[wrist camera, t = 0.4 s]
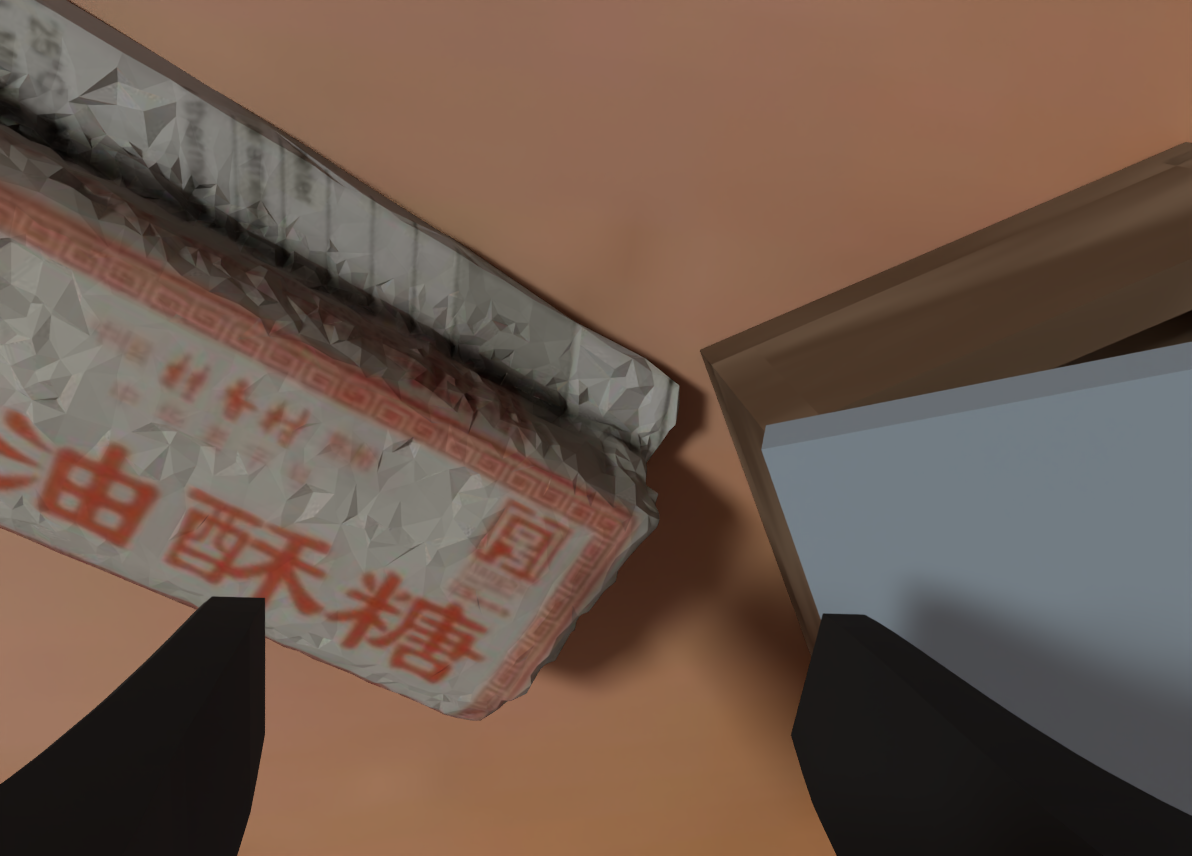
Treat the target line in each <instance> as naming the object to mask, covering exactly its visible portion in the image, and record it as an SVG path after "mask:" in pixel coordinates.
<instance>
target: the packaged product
mask: <svg viewBox="0 0 1192 856" xmlns="http://www.w3.org/2000/svg"><path fill="white" fill-rule="evenodd" d="M678 410H679V385H678V384H677V383H675V382H674V381H673V380H672V379H670V378H669V377H668V376H667V375H665V374H664V373H663V372H662V371H660V370H659V369H658V368H657V367H655V366H654V365H653V364H652V363H650V362H649V361H648V360H647V359H645V358H644V357H642V356H640V355H638V354H636V353H634V352H632V351H630V350H628V349H627V348H625V347H623V346H621V345H619V344H617V343H615V342H613V341H611V340H609V339H607V338H605V337H603V336H601V335H600V334H598V333H596V332H594V331H592V330H590V329H588V328H586V327H584V326H582V325H580V324H578V323H576V322H575V321H573V320H572V319H570V318H569V317H567V316H566V315H564V314H563V313H561V312H560V311H558V310H557V309H555V308H554V307H553V306H551V305H550V304H548V303H547V302H545V301H544V300H542V299H541V298H539V297H538V296H536V295H535V294H533V293H532V292H530V291H529V290H528V289H526V288H525V287H523V286H522V285H520V284H519V283H517V282H516V281H514V280H513V279H511V278H510V277H508V276H507V275H506V274H504V273H503V272H501V271H500V270H498V269H497V268H495V267H494V266H492V265H491V264H489V263H488V262H486V261H485V260H484V259H482V258H481V257H479V256H478V255H476V254H475V253H473V252H472V251H470V250H469V249H467V248H466V247H464V246H463V245H461V244H460V243H458V242H457V241H455V240H454V239H452V238H451V237H449V236H447V235H445V234H443V233H441V232H440V231H438V230H436V229H435V228H433V227H432V226H430V225H429V224H427V223H425V222H424V221H422V220H421V219H419V218H417V217H416V216H414V215H413V214H411V213H410V212H408V211H406V210H405V209H403V208H402V207H400V206H399V205H397V204H395V203H394V202H392V201H391V200H389V199H388V198H386V197H384V196H383V195H381V194H380V193H378V192H377V191H375V190H373V189H372V188H370V187H369V186H367V185H365V184H364V183H362V182H361V181H359V180H358V179H356V178H354V177H353V176H351V175H350V174H348V173H347V172H345V171H344V170H342V169H341V168H339V167H337V166H336V165H334V164H333V163H331V162H330V161H328V160H327V159H325V158H324V157H322V156H321V155H319V154H318V153H316V152H315V151H313V150H312V149H310V148H308V147H307V146H305V145H304V144H302V143H300V142H299V141H297V140H295V139H294V138H292V137H291V136H289V135H287V134H286V133H284V132H283V131H281V130H279V129H278V128H276V127H274V126H273V125H271V124H270V123H268V122H266V121H265V120H263V119H261V118H260V117H258V116H257V115H255V114H253V113H252V112H250V111H248V110H247V109H245V108H244V107H242V106H240V105H239V104H237V103H235V102H234V101H232V100H231V99H229V98H227V97H226V96H224V95H223V94H221V93H219V92H217V91H215V90H214V89H212V88H210V87H208V86H207V85H205V84H204V83H202V82H200V81H199V80H197V79H196V78H194V77H192V76H191V75H189V74H188V73H186V72H185V71H183V70H181V69H180V68H178V67H177V66H175V65H173V64H172V63H170V62H169V61H167V60H165V59H164V58H162V57H160V56H159V55H157V54H155V53H154V52H152V51H150V50H149V49H147V48H145V47H144V46H142V45H140V44H139V43H137V42H135V41H134V40H132V39H130V38H129V37H127V36H125V35H124V34H122V33H120V32H119V31H117V30H115V29H114V28H112V27H110V26H109V25H107V24H105V23H104V22H102V21H100V20H99V19H97V18H95V17H94V16H92V15H90V14H89V13H87V12H85V11H84V10H82V9H80V8H79V7H77V6H75V5H74V4H72V3H70V2H69V1H67V0H0V528H2V529H4V530H7V531H10V532H12V533H15V534H17V535H19V536H22V537H24V538H26V539H29V540H31V541H33V542H36V543H38V544H40V545H42V546H45V547H47V548H49V549H51V550H54V551H56V552H58V553H61V554H63V555H66V556H68V557H71V558H73V559H76V560H78V561H81V562H83V563H86V564H88V565H91V566H93V567H96V568H98V569H101V570H103V571H105V572H108V573H110V574H112V575H115V576H117V577H119V578H122V579H124V580H127V581H129V582H131V583H134V584H136V585H139V586H141V587H143V588H146V589H148V590H151V591H153V592H156V593H158V594H160V595H163V596H165V597H167V598H170V599H172V600H175V601H177V602H179V603H182V604H184V605H187V606H189V607H192V608H194V609H198V608H199V607H200V606H201V605H202V604H203V603H204V602H206V601H207V600H208V599H209V598H211V597H212V596H219V597H255V598H265V638H267V639H270V640H272V641H274V642H276V643H278V644H280V645H281V646H283V647H286V648H290V649H293V650H296V651H300V652H301V653H303V654H305V655H307V656H309V657H311V658H312V659H315V660H317V661H320V662H323V663H325V664H328V665H331V666H333V667H336V668H338V669H341V670H343V671H346V672H348V673H351V674H353V675H355V676H357V677H359V678H361V679H363V680H365V681H366V682H368V683H371V684H374V685H376V686H379V687H382V688H384V689H387V690H390V691H392V692H396V693H398V694H400V695H402V696H404V697H407V698H409V699H412V700H414V701H416V702H419V703H421V704H423V705H425V706H428V707H430V708H432V709H434V710H436V711H438V712H440V713H442V714H445V715H449V716H453V717H456V718H462V719H467V720H482V719H483V718H485V717H487V716H488V715H490V714H491V713H493V712H495V711H496V710H498V709H499V708H500V707H501V706H502V705H503V704H505V703H506V702H507V701H512V700H514V699H516V698H518V697H520V696H522V695H524V694H526V693H527V691H528V690H529V688H530V686H531V684H532V683H533V681H534V679H535V677H536V676H537V674H538V672H539V671H540V669H541V668H542V667H543V666H544V665H545V664H547V663H550V662H552V661H555V660H556V658H557V656H558V654H559V653H560V651H561V649H562V647H563V646H564V644H565V642H566V640H567V639H568V637H569V635H570V633H571V632H572V631H574V630H575V625H576V621H577V620H578V618H579V616H580V615H582V614H584V613H586V612H589V611H590V609H591V608H592V607H593V605H594V604H595V603H596V601H597V600H598V599H599V598H600V596H601V595H602V594H603V592H604V591H605V590H606V589H607V588H608V587H610V586H611V585H612V584H613V583H614V582H616V578H617V573H618V570H619V569H620V567H621V566H622V565H623V564H624V562H625V561H626V560H627V559H628V557H629V556H630V555H631V554H632V553H633V552H634V551H635V549H636V548H637V547H638V546H639V545H640V544H641V543H642V542H643V541H644V540H645V539H646V538H647V537H648V536H649V535H650V534H651V533H652V532H653V531H654V530H655V529H656V528H657V525H658V523H659V512H658V510H657V508H656V506H655V503H656V500H657V496H658V493H657V492H655V491H654V490H652V489H651V488H650V487H648V486H647V485H646V472H647V466H646V463H647V461H648V460H649V459H650V457H651V456H652V454H653V453H654V452H655V450H656V449H657V448H658V446H659V445H660V443H661V442H662V441H663V439H664V438H665V436H666V435H667V433H668V432H669V430H670V429H672V428H673V427H674V426H675V425H676V420H677V415H678Z"/></svg>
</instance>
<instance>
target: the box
mask: <svg viewBox="0 0 1192 856" xmlns="http://www.w3.org/2000/svg"><path fill="white" fill-rule="evenodd" d="M1187 342H1192V143H1189V142H1185V143H1183V144H1180V145H1178V146H1176V147H1173V148H1171V149H1169V150H1166V151H1164V152H1162V153H1159V154H1157V155H1155V156H1152V157H1150V158H1148V159H1145V160H1143V161H1141V162H1138V163H1136V164H1134V165H1131V166H1129V167H1127V168H1124V169H1122V170H1120V171H1117V172H1115V173H1113V174H1110V175H1108V176H1106V177H1103V178H1101V179H1099V180H1096V181H1094V182H1092V183H1089V184H1087V185H1085V186H1082V187H1080V188H1078V189H1075V190H1073V191H1071V192H1068V193H1066V194H1064V195H1061V196H1059V197H1057V198H1054V199H1052V200H1050V201H1047V202H1045V203H1042V204H1040V205H1038V206H1035V207H1033V208H1031V209H1028V210H1026V211H1024V212H1021V213H1019V214H1017V215H1014V216H1012V217H1010V218H1007V219H1005V220H1003V221H1000V222H998V223H996V224H993V225H991V226H989V227H986V228H984V229H982V230H979V231H977V232H975V233H972V234H970V235H968V236H965V237H963V238H961V239H958V240H956V241H954V242H951V243H949V244H947V245H944V246H942V247H940V248H937V249H935V250H933V251H930V252H928V253H926V254H923V255H921V256H919V257H916V258H914V259H912V260H909V261H907V262H905V263H902V264H900V265H898V266H895V267H893V268H891V269H888V270H886V271H884V272H881V273H879V274H877V275H874V276H872V277H870V278H867V279H865V280H863V281H860V282H858V283H855V284H853V285H851V286H848V287H846V288H844V289H841V290H839V291H837V292H834V293H832V294H830V295H827V296H825V297H823V298H820V299H818V300H816V301H813V302H811V303H809V304H806V305H804V306H802V307H799V308H797V309H795V310H792V311H790V312H788V313H785V314H783V315H781V316H778V317H776V318H774V319H771V320H769V321H767V322H764V323H762V324H760V325H757V326H755V327H753V328H750V329H748V330H746V331H743V332H741V333H739V334H736V335H734V336H732V337H729V338H727V339H725V340H722V341H720V342H718V343H715V344H713V345H711V346H708V347H706V348H704V349H701V350H700V352H701V355H702V358H703V360H704V363H705V366H706V369H707V371H708V374H709V377H710V380H711V382H712V385H713V388H714V391H715V393H716V396H717V399H718V402H719V404H720V407H721V410H722V413H723V415H724V418H725V421H726V424H727V426H728V429H729V432H730V435H731V437H732V440H733V443H734V446H735V448H736V451H737V454H738V456H739V459H740V462H741V465H742V467H743V470H744V473H745V476H746V478H747V481H748V484H749V487H750V489H751V492H752V495H753V498H754V500H755V503H756V506H757V509H758V511H759V514H760V517H761V520H762V522H763V525H764V528H765V531H766V533H767V536H768V539H769V542H770V544H771V547H772V550H773V553H774V555H775V558H776V561H777V564H778V566H779V569H780V572H781V575H782V577H783V580H784V583H785V586H786V588H787V591H788V594H789V597H790V599H791V602H792V605H793V608H794V610H795V613H796V616H797V619H798V621H799V624H800V627H801V630H802V632H803V635H804V638H805V641H806V643H807V646H808V649H809V652H810V654H811V657H812V653H813V649H814V645H815V641H816V638H817V634H818V630H819V626H820V622H821V619H820V616H819V613H818V610H817V607H816V604H815V602H814V599H813V596H812V593H811V590H810V587H809V584H808V582H807V579H806V576H805V573H804V570H803V567H802V564H801V562H800V559H799V556H798V553H797V550H796V547H795V544H794V542H793V539H792V536H791V533H790V530H789V527H788V524H787V522H786V519H785V516H784V513H783V510H782V507H781V504H780V502H779V499H778V496H777V493H776V490H775V487H774V484H773V482H772V479H771V476H770V473H769V470H768V467H767V464H766V462H765V459H764V456H763V453H762V450H761V449H762V443H763V438H764V433H765V428H766V425H771V424H776V423H781V422H786V421H791V420H796V419H801V418H806V417H811V416H816V415H821V414H826V413H832V412H837V411H842V410H847V409H852V408H857V407H862V406H867V405H872V404H877V403H882V402H887V401H893V400H898V399H903V398H908V397H913V396H918V395H923V394H928V393H933V392H938V391H943V390H948V389H954V388H959V387H964V386H969V385H974V384H979V383H984V382H989V381H994V380H999V379H1004V378H1009V377H1015V376H1020V375H1025V374H1030V373H1035V372H1040V371H1045V370H1050V369H1055V368H1060V367H1065V366H1070V365H1076V364H1081V363H1086V362H1091V361H1096V360H1101V359H1106V358H1111V357H1116V356H1121V355H1126V354H1131V353H1136V352H1142V351H1147V350H1152V349H1157V348H1162V347H1167V346H1172V345H1177V344H1182V343H1187Z"/></svg>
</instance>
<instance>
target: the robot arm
mask: <svg viewBox="0 0 1192 856" xmlns="http://www.w3.org/2000/svg"><path fill="white" fill-rule="evenodd" d="M264 736H265V598H255V597H219V596H212V597H211V598H209V599H208V600H207V601H206V602H204V603H203V604H202V605H201V606H200V607H199V608H198V609H197V610H196V611H195V612H194V613H193V614H192V615H191V616H190V617H189V618H188V619H187V620H186V621H185V622H184V623H183V625H182V626H181V627H180V628H179V629H178V630H177V631H176V632H175V633H174V634H173V635H172V636H171V637H170V638H169V639H168V640H167V641H166V642H165V643H164V644H163V645H162V646H161V647H160V648H159V649H158V650H157V651H156V652H155V653H154V654H153V655H152V656H151V657H150V658H149V659H148V660H147V661H146V662H144V663H143V664H142V665H141V666H140V667H139V668H138V669H137V670H136V671H135V672H134V673H133V674H132V675H131V676H129V677H128V678H127V679H126V680H125V681H124V682H123V683H122V684H121V685H120V686H119V687H118V688H117V689H116V690H114V691H113V692H112V693H111V694H110V695H109V696H108V697H107V698H106V699H105V700H104V701H103V702H101V703H100V704H99V705H98V706H97V707H96V708H95V709H93V710H92V711H91V712H90V713H89V714H88V715H86V716H85V717H84V718H83V719H82V720H80V721H79V722H78V723H77V724H76V725H74V726H73V727H72V728H71V729H70V730H68V731H67V732H66V733H65V734H64V735H62V736H61V737H60V738H59V739H58V740H56V741H55V742H54V743H53V744H52V745H50V746H49V747H48V748H47V749H46V750H45V751H43V752H42V753H41V754H39V755H38V756H37V757H36V758H34V759H33V760H32V761H30V762H29V763H28V764H27V765H25V766H24V767H23V768H21V769H20V770H19V771H18V772H16V773H15V774H14V775H12V776H11V777H10V778H8V779H7V780H5V781H4V782H3V783H1V784H0V856H237V854H238V851H239V848H240V844H241V841H242V838H243V835H244V831H245V828H246V825H247V822H248V818H249V815H250V812H251V806H252V801H253V796H254V791H255V786H256V780H257V775H258V770H259V764H260V758H261V753H262V747H263V742H264ZM791 736H792V740H793V743H794V747H795V750H796V753H797V757H798V760H799V763H800V767H801V770H802V773H803V776H804V779H805V782H806V785H807V788H808V791H809V794H810V797H811V800H812V803H813V805H814V808H815V810H816V812H817V814H818V817H819V819H820V821H821V823H822V825H823V827H824V830H825V832H826V834H827V836H828V838H829V840H830V842H831V844H832V847H833V849H834V851H835V853H836V855H837V856H1192V816H1191V815H1189V814H1187V813H1185V812H1183V811H1181V810H1179V809H1177V808H1175V807H1173V806H1171V805H1169V804H1167V803H1165V802H1163V801H1161V800H1159V799H1157V798H1156V797H1154V796H1152V795H1150V794H1148V793H1146V792H1144V791H1143V790H1141V789H1139V788H1137V787H1135V786H1133V785H1131V784H1130V783H1128V782H1126V781H1124V780H1122V779H1120V778H1119V777H1117V776H1115V775H1113V774H1111V773H1109V772H1107V771H1106V770H1104V769H1102V768H1100V767H1099V766H1097V765H1095V764H1093V763H1092V762H1090V761H1088V760H1087V759H1085V758H1083V757H1081V756H1080V755H1078V754H1076V753H1075V752H1073V751H1071V750H1070V749H1068V748H1067V747H1065V746H1063V745H1062V744H1060V743H1059V742H1057V741H1055V740H1054V739H1052V738H1051V737H1049V736H1047V735H1046V734H1044V733H1043V732H1041V731H1039V730H1038V729H1036V728H1034V727H1033V726H1031V725H1030V724H1028V723H1027V722H1025V721H1024V720H1022V719H1021V718H1019V717H1018V716H1016V715H1014V714H1013V713H1011V712H1010V711H1008V710H1007V709H1005V708H1004V707H1002V706H1001V705H999V704H998V703H996V702H995V701H993V700H992V699H990V698H989V697H988V696H986V695H985V694H983V693H982V692H980V691H979V690H977V689H976V688H974V687H973V686H971V685H970V684H969V683H967V682H966V681H964V680H963V679H961V678H960V677H958V676H957V675H956V674H954V673H953V672H951V671H950V670H948V669H947V668H946V667H944V666H943V665H941V664H940V663H938V662H937V661H936V660H934V659H933V658H931V657H930V656H928V655H927V654H925V653H924V652H923V651H921V650H920V649H918V648H917V647H915V646H914V645H912V644H911V643H909V642H908V641H907V640H905V639H904V638H902V637H901V636H899V635H898V634H896V633H895V632H893V631H892V630H890V629H888V628H887V627H885V626H884V625H882V624H880V623H879V622H877V621H875V620H874V619H872V618H870V617H868V616H867V615H864V614H828V613H823V615H822V619H821V622H820V626H819V630H818V634H817V638H816V641H815V645H814V649H813V653H812V657H811V661H810V664H809V668H808V672H807V676H806V680H805V684H804V687H803V691H802V695H801V699H800V703H799V706H798V710H797V714H796V718H795V722H794V726H793V729H792V733H791Z"/></svg>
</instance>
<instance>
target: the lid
mask: <svg viewBox="0 0 1192 856" xmlns="http://www.w3.org/2000/svg"><path fill="white" fill-rule="evenodd" d="M761 450H762V453H763V456H764V459H765V462H766V464H767V467H768V470H769V473H770V476H771V479H772V482H773V484H774V487H775V490H776V493H777V496H778V499H779V502H780V504H781V507H782V510H783V513H784V516H785V519H786V522H787V524H788V527H789V530H790V533H791V536H792V539H793V542H794V544H795V547H796V550H797V553H798V556H799V559H800V562H801V564H802V567H803V570H804V573H805V576H806V579H807V582H808V584H809V587H810V590H811V593H812V596H813V599H814V602H815V604H816V607H817V610H818V613H819V616H820V619H822V615H823V613H828V614H864V615H867V616H868V617H870V618H872V619H874V620H875V621H877V622H879V623H880V624H882V625H884V626H885V627H887V628H888V629H890V630H892V631H893V632H895V633H896V634H898V635H899V636H901V637H902V638H904V639H905V640H907V641H908V642H909V643H911V644H912V645H914V646H915V647H917V648H918V649H920V650H921V651H923V652H924V653H925V654H927V655H928V656H930V657H931V658H933V659H934V660H936V661H937V662H938V663H940V664H941V665H943V666H944V667H946V668H947V669H948V670H950V671H951V672H953V673H954V674H956V675H957V676H958V677H960V678H961V679H963V680H964V681H966V682H967V683H969V684H970V685H971V686H973V687H974V688H976V689H977V690H979V691H980V692H982V693H983V694H985V695H986V696H988V697H989V698H990V699H992V700H993V701H995V702H996V703H998V704H999V705H1001V706H1002V707H1004V708H1005V709H1007V710H1008V711H1010V712H1011V713H1013V714H1014V715H1016V716H1018V717H1019V718H1021V719H1022V720H1024V721H1025V722H1027V723H1028V724H1030V725H1031V726H1033V727H1034V728H1036V729H1038V730H1039V731H1041V732H1043V733H1044V734H1046V735H1047V736H1049V737H1051V738H1052V739H1054V740H1055V741H1057V742H1059V743H1060V744H1062V745H1063V746H1065V747H1067V748H1068V749H1070V750H1071V751H1073V752H1075V753H1076V754H1078V755H1080V756H1081V757H1083V758H1085V759H1087V760H1088V761H1090V762H1092V763H1093V764H1095V765H1097V766H1099V767H1100V768H1102V769H1104V770H1106V771H1107V772H1109V773H1111V774H1113V775H1115V776H1117V777H1119V778H1120V779H1122V780H1124V781H1126V782H1128V783H1130V784H1131V785H1133V786H1135V787H1137V788H1139V789H1141V790H1143V791H1144V792H1146V793H1148V794H1150V795H1152V796H1154V797H1156V798H1157V799H1159V800H1161V801H1163V802H1165V803H1167V804H1169V805H1171V806H1173V807H1175V808H1177V809H1179V810H1181V811H1183V812H1185V813H1187V814H1189V815H1191V816H1192V342H1187V343H1182V344H1177V345H1172V346H1167V347H1162V348H1157V349H1152V350H1147V351H1142V352H1136V353H1131V354H1126V355H1121V356H1116V357H1111V358H1106V359H1101V360H1096V361H1091V362H1086V363H1081V364H1076V365H1070V366H1065V367H1060V368H1055V369H1050V370H1045V371H1040V372H1035V373H1030V374H1025V375H1020V376H1015V377H1009V378H1004V379H999V380H994V381H989V382H984V383H979V384H974V385H969V386H964V387H959V388H954V389H948V390H943V391H938V392H933V393H928V394H923V395H918V396H913V397H908V398H903V399H898V400H893V401H887V402H882V403H877V404H872V405H867V406H862V407H857V408H852V409H847V410H842V411H837V412H832V413H826V414H821V415H816V416H811V417H806V418H801V419H796V420H791V421H786V422H781V423H776V424H771V425H766V428H765V433H764V438H763V443H762V449H761Z"/></svg>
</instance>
